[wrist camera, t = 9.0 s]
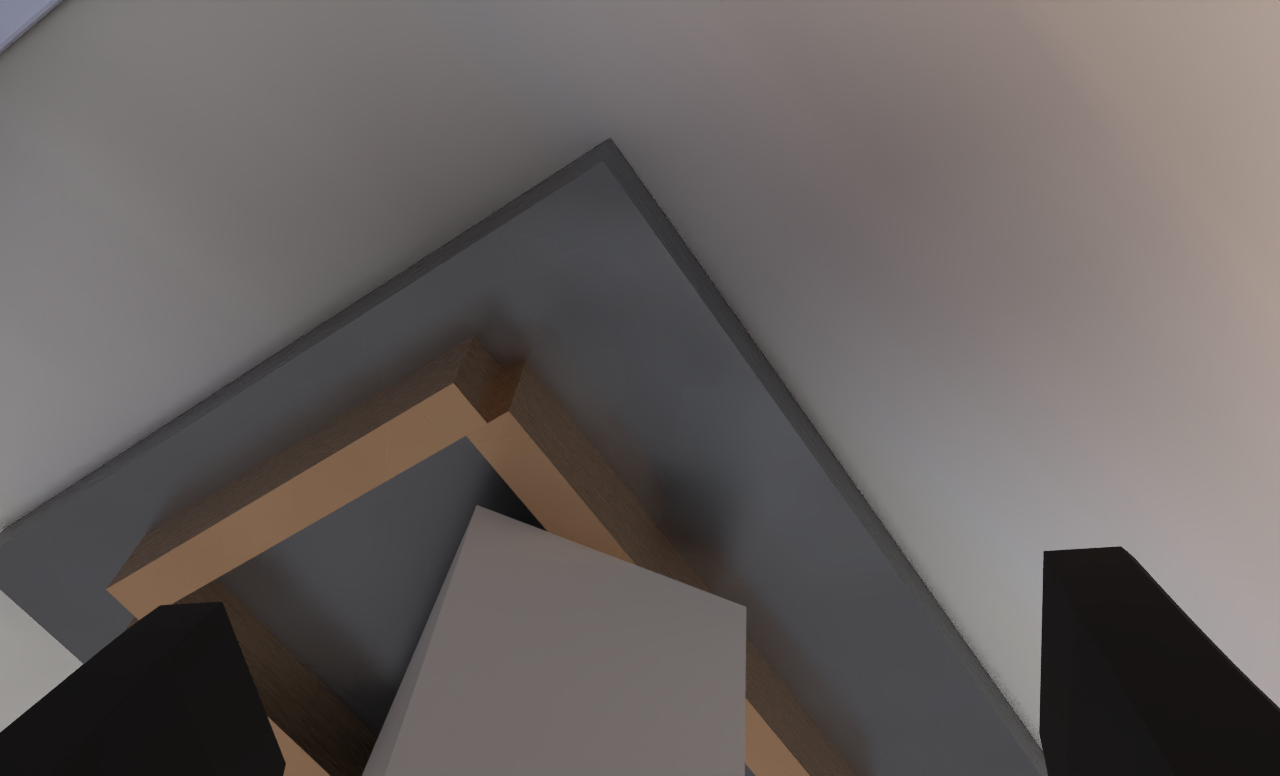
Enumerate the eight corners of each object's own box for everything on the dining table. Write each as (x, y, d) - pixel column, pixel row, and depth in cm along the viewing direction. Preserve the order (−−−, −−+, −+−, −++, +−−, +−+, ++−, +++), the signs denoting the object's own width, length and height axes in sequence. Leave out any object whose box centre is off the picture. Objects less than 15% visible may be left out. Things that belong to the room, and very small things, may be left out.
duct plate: (1, 531, 23) (-77, 619, 21) (610, 137, 18) (591, 199, 16) (489, 978, 29) (467, 1084, 26) (1054, 767, 24) (1083, 876, 22)
